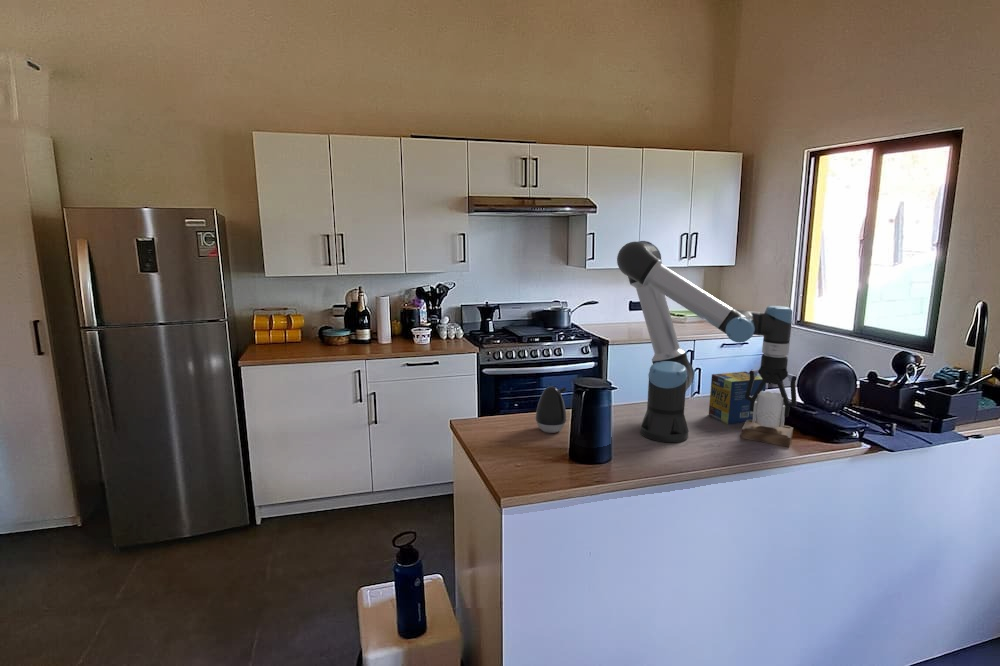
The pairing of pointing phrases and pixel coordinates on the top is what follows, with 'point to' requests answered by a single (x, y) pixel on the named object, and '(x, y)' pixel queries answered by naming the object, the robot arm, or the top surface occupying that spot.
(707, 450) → the top surface
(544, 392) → the dark grey egg
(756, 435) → the tan flat block
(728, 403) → the protein box
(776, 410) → the white cup
